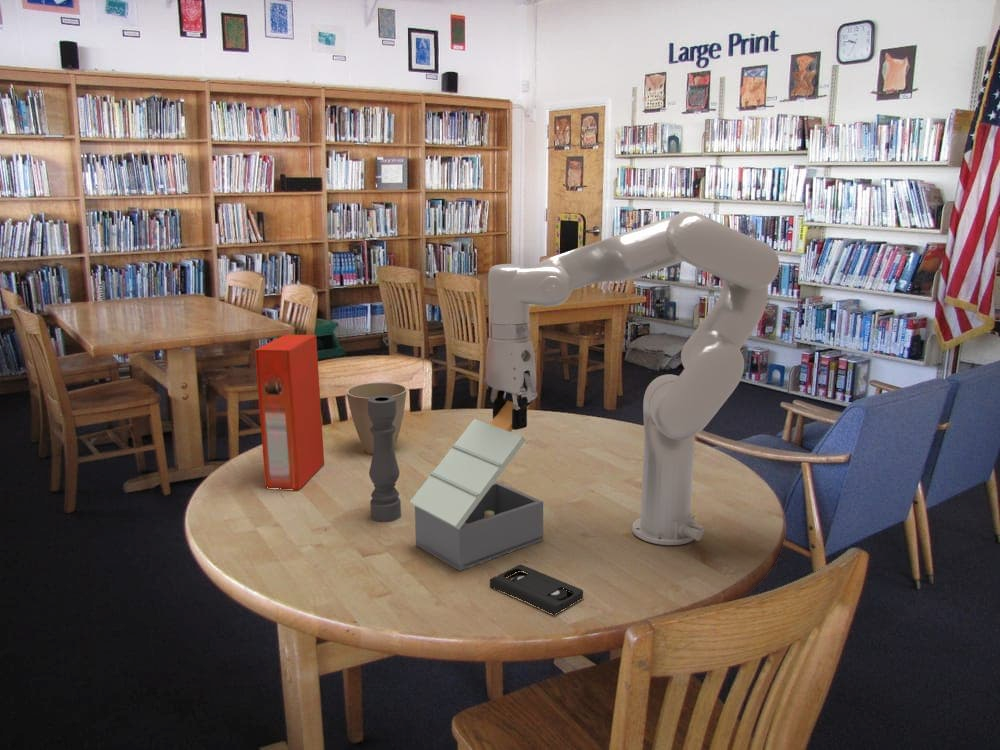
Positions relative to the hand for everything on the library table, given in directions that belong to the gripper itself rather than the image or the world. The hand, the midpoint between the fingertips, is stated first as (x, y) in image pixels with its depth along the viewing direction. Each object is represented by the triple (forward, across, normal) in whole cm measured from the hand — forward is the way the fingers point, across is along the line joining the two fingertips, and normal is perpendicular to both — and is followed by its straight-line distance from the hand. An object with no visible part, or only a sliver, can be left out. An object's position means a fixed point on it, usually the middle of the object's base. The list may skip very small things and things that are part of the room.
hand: (509, 423), depth 162 cm
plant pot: (+22, +60, -6) cm, 64 cm away
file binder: (+22, +56, +19) cm, 63 cm away
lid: (+6, 0, +8) cm, 10 cm away
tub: (+22, 0, +8) cm, 24 cm away
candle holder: (+22, +22, +15) cm, 35 cm away
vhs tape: (+23, -22, +12) cm, 34 cm away
